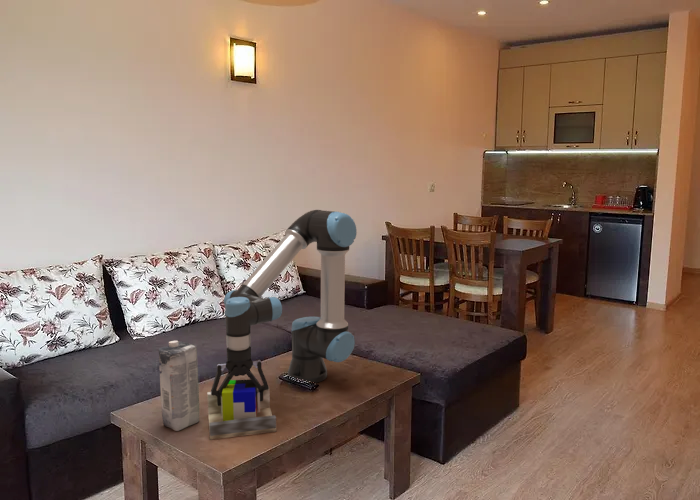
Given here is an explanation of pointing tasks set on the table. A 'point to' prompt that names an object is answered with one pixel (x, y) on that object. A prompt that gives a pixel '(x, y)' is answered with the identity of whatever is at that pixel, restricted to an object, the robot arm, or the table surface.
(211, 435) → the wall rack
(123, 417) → the table surface
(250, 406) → the puzzle toy
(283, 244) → the robot arm
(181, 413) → the juice carton
